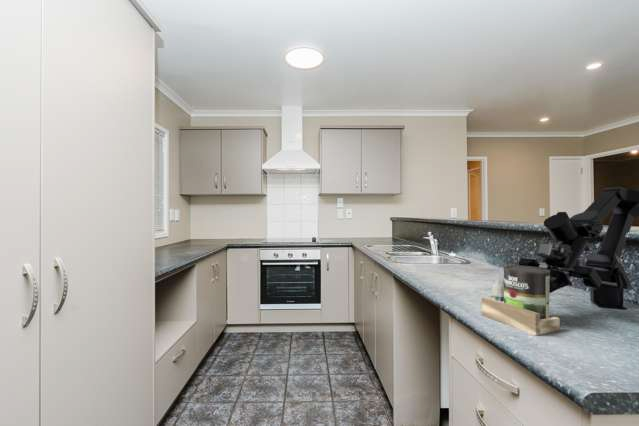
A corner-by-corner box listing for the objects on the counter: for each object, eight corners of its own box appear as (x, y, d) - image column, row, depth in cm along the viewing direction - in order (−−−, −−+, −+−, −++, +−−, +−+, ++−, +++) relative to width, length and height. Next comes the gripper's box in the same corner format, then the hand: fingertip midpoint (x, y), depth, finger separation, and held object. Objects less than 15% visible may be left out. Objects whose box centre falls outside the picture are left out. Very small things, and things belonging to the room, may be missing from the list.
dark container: (532, 330, 73) (531, 273, 73) (495, 316, 83) (494, 266, 83) (560, 324, 76) (559, 270, 76) (521, 312, 86) (520, 264, 86)
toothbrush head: (508, 278, 113) (508, 282, 92) (508, 296, 112) (508, 304, 92) (492, 277, 116) (489, 280, 95) (492, 294, 115) (489, 302, 94)
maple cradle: (503, 311, 87) (503, 294, 87) (559, 330, 73) (559, 310, 73) (481, 315, 84) (481, 297, 84) (535, 335, 70) (535, 314, 70)
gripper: (521, 231, 92) (495, 269, 88) (594, 235, 75) (565, 283, 71) (539, 255, 95) (515, 293, 91) (613, 264, 77) (587, 312, 74)
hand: (541, 294), depth 82 cm, fingers closed
